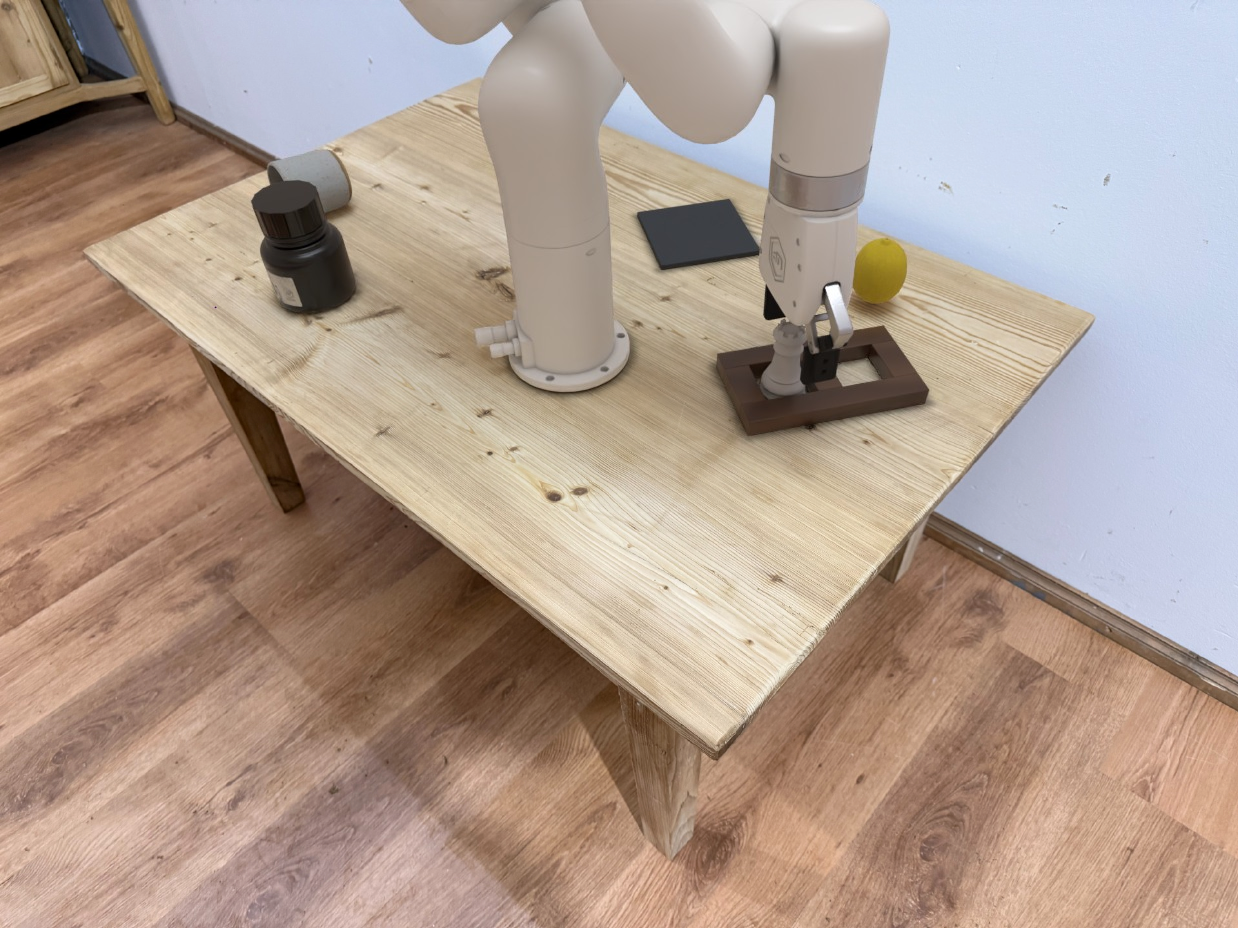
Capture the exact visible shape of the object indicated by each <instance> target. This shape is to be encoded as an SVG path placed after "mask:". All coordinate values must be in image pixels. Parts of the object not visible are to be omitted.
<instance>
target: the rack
mask: <svg viewBox="0 0 1238 928" xmlns="http://www.w3.org/2000/svg"><path fill="white" fill-rule="evenodd" d="M825 335H826V334H823V335H818V338H820V337H823V336H825ZM802 345H803V347H806V346H808V340H806V342H805V343H803V344H802ZM773 346H774V343H771V344H766V345H758V346H754V347H753V346H752V347H748V348H747V347H746V348H742V349H735V350H730V351H723V352H718V353H716V365H715V367H716V370H717V372H718V374H719V376H720V379H721V380H722V382H723V383H722V384H723V385H724V388H725V389H726V391H727V394H728V396H729V398H730V401H731V402H732V405H733V407H734V409H735V411H736V414H737V415H738V417H739V420H740V421H741V424H742V426H743V428H744V430H745V432H746V435H747V436H754V435H759V434H760V435H761V434H765V433H771V432H776V431H782V430H787V429H792V428H799V427H803V426H810V425H815V424H821V423H826V422H831V421H836V420H842V419H847V418H848V419H849V418H853V417H859V416H863V415H868V414H874V413H879V412H886V411H890V410H896V409H902V408H907V407H911V406H913V407H914V406H917V405H922V404H923V405H924V404H926V402H927V399H928V396H929V393H930V388H929V386H928V385H927V384H926V383H925V381H924V380H923V379H922V377H921V375H920V374H919V373H918V371H917V370H916V369H915V367H914V366H913V364H912V363H911V361H910V360H909V358H908V357H907V356H906V355H905V353H904V352H903V350H902V349H901V347H900V346H899V344H898V343H897V341H896V340H895V339H894V337H893V336H892V335H891V334H890V332H889V330H888V329H887V327H886V326H885V325H883V324H882V325H877V326H871V327H865V328H859V329H853V335H852V336H851V338H850V339H849V340H848V343H847V346H846V347H843V348H842V349H840V355H839V361H838V363H843V362H849V361H854V360H861V359H865V358H866V359H867V358H868V359H869V360H870V362H871V364H872V365H873V367H874V369H875V370H876V371H877V373H878V375H879V376H880V377H881V379H878V380H877V379H876V380H872V381H866V382H861V383H853V384H850V385H849V384H848V385H844V386H843V384H842V382H841V381H840V379H839V377H838V376H837V375H836V377H835V378H834V379H832V380H827V381H822V382H817V383H812V384H807V385H805V388H806V389H807V391H808V392H805V393H804V394H798V395H792V396H787V397H781V398H776V399H770V400H768V399H767V398H766V397H765V396H764V395H763V393H762V391H761V389H760V384H759V382H758V381H757V379H756V378H757V377H762V374H763V372H764V371H765V370H766V369H767V368H768V366H769V365H770V364H771V363H772V360H773V357H774V354H775V350H774V348H773ZM802 357H803V352H802V353H801V355H800V367H801V365H802Z"/></svg>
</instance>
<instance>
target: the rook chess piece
mask: <svg viewBox="0 0 1238 928" xmlns="http://www.w3.org/2000/svg"><path fill="white" fill-rule="evenodd" d="M772 336H773V337H772V338H774V340H775V341H774V343H773V344H774V346H773V348H774V350H775V354H774V357H773V360H772V363H771V364H770V365H769V366H768V368H767V369H766V370H765V371H764V372H763V374H762V376H761V379H760V382H759V387H760V389H761V391H762V393H763V395H764V397H765V399H766V400H770V399H776V398H781V397H787V396H792V395H798V394H804V393H806V386H805V385H803V384H802V382H801V381H800V374H801V367H800V355H801V353H802V352H803V349H804V347H803V345H802V344H803V343H805V342H806V340H807V334H806V328H805V325H801V326H796V325H794V324H792V323H791V322H790V321H789V320H788V321H787V318H781V319H780V322H779V323H777V326H775V328H774V329H773V330H772Z"/></svg>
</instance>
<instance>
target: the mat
mask: <svg viewBox="0 0 1238 928" xmlns="http://www.w3.org/2000/svg"><path fill="white" fill-rule="evenodd" d="M636 216H637V219H638V221H639V223H640V225H641V227H642V230H643V232H644V234H645V237H646V238H647V241H648V244H649V245H650V247H651V249H652V252H653V254H654V256H655V259H656V261H657V264H658V266H659V267H660V269H661V271H662V270H668V269H674V268H675V269H676V268H681V267H688V266H694V265H700V264H707V263H714V262H720V261H727V260H732V259H733V260H734V259H741V258H745V257H746V258H747V257H752V256H759V253H760V246H759V245H758V243H757V242H756V240H755V239H754V237H753V235H752V234H751V232H750V231H749V228H748V227H747V226H746V224H745V222H744V220H743V219H742V217H741V215H740V214H739V212H738V211H737V209H736V208H735V205H734V204H733V202H732V201H731V199H730V198H724V199H718V200H711V201H704V202H697V203H690V204H683V205H676V206H670V207H663V208H657V209H649V210H643V211H637V212H636Z"/></svg>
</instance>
